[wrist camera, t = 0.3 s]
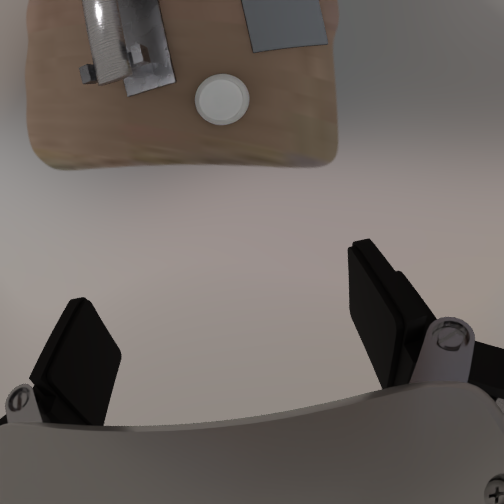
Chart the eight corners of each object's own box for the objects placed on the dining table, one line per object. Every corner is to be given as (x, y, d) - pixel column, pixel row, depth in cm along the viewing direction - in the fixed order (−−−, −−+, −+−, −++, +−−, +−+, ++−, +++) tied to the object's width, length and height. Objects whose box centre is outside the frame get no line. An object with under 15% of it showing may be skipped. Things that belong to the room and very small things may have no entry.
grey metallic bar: (83, -49, 15) (70, -59, 12) (111, -62, 15) (101, -73, 12) (106, 85, 23) (92, 86, 20) (136, 74, 23) (126, 73, 20)
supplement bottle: (255, 101, 35) (263, 104, 26) (220, 128, 36) (217, 140, 28) (227, 67, 32) (225, 60, 24) (191, 96, 34) (179, 97, 25)
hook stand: (105, -23, 24) (60, -55, 13) (150, -39, 24) (119, -82, 12) (129, 96, 33) (85, 102, 22) (176, 81, 33) (149, 78, 21)
